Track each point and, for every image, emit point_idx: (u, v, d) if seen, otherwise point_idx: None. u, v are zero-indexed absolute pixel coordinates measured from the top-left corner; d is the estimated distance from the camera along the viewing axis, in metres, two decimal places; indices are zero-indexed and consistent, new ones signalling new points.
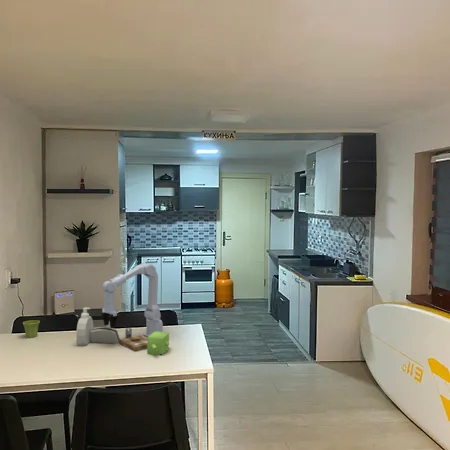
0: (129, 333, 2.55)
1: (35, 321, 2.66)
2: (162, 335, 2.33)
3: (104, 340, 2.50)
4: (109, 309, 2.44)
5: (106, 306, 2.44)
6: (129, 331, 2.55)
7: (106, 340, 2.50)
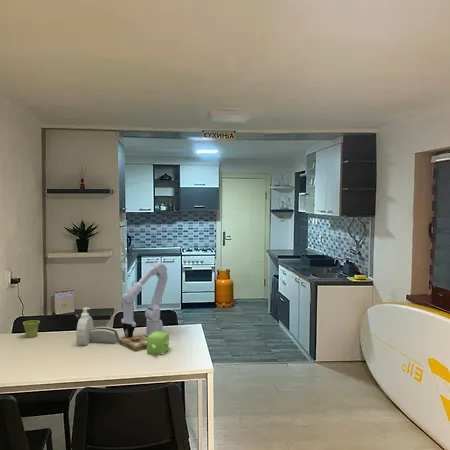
0: None
1: (35, 321, 2.66)
2: (162, 335, 2.33)
3: (104, 340, 2.50)
4: (128, 320, 2.54)
5: (125, 317, 2.54)
6: None
7: (105, 340, 2.50)
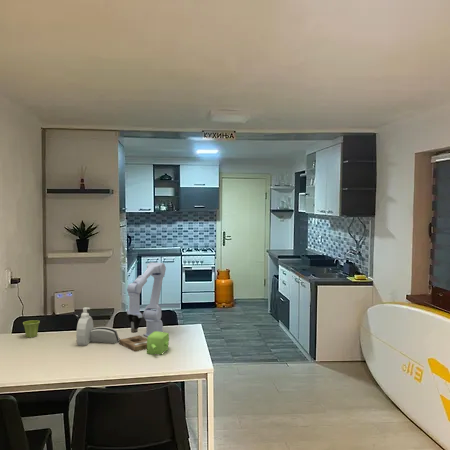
0: None
1: (35, 321, 2.66)
2: (162, 335, 2.33)
3: (103, 340, 2.50)
4: (134, 311, 2.44)
5: (131, 308, 2.44)
6: None
7: (105, 340, 2.50)
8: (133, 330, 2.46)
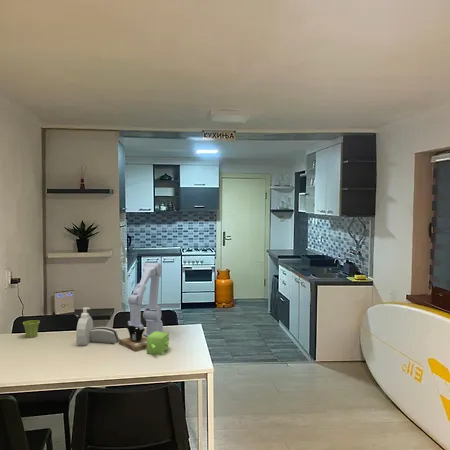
0: None
1: (35, 321, 2.66)
2: (162, 335, 2.33)
3: (103, 340, 2.50)
4: (135, 322, 2.43)
5: (132, 319, 2.43)
6: None
7: (105, 340, 2.50)
8: None
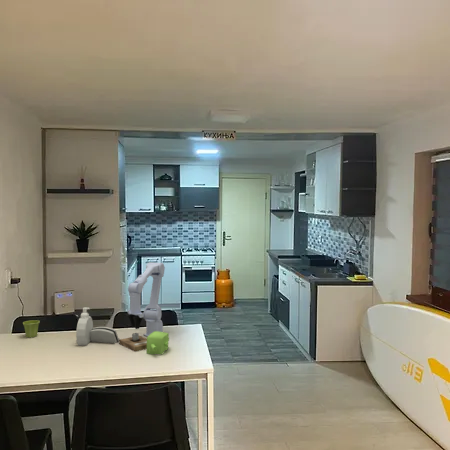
0: (136, 338, 2.45)
1: (35, 321, 2.66)
2: (161, 335, 2.33)
3: (103, 340, 2.50)
4: (135, 311, 2.43)
5: (132, 307, 2.43)
6: (136, 336, 2.45)
7: (105, 340, 2.50)
8: None
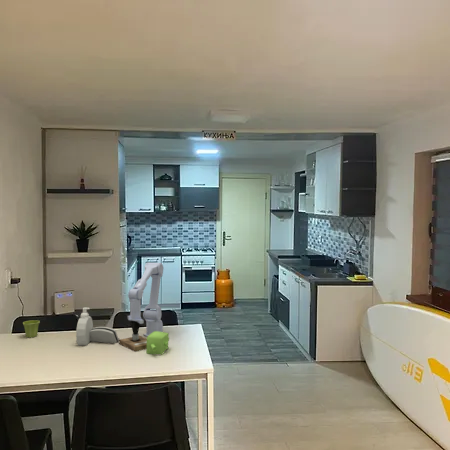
0: (136, 338, 2.45)
1: (35, 321, 2.66)
2: (161, 335, 2.33)
3: (103, 340, 2.50)
4: (135, 317, 2.43)
5: (132, 314, 2.43)
6: (136, 336, 2.45)
7: (105, 340, 2.50)
8: None
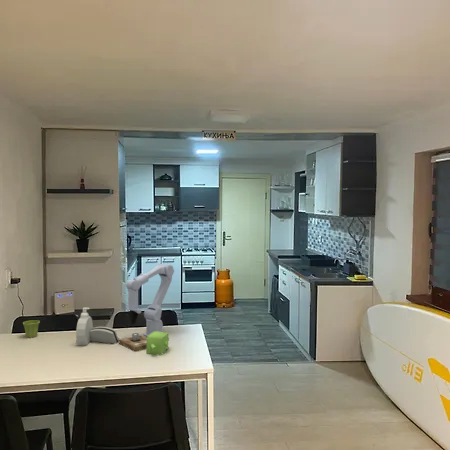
0: (136, 338, 2.45)
1: (35, 321, 2.66)
2: (161, 335, 2.33)
3: (103, 340, 2.50)
4: (133, 307, 2.51)
5: (130, 304, 2.51)
6: (136, 336, 2.45)
7: (104, 340, 2.50)
8: None
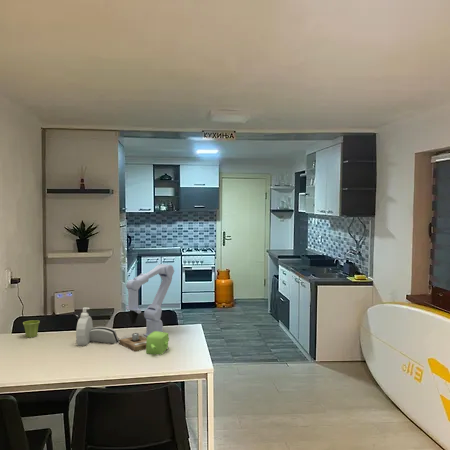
0: (136, 338, 2.45)
1: (35, 321, 2.66)
2: (161, 335, 2.33)
3: (103, 340, 2.50)
4: (133, 307, 2.51)
5: (130, 304, 2.51)
6: (136, 336, 2.45)
7: (104, 340, 2.50)
8: None
